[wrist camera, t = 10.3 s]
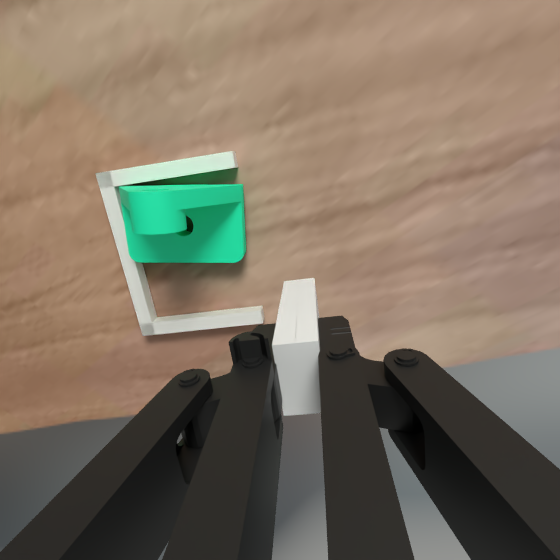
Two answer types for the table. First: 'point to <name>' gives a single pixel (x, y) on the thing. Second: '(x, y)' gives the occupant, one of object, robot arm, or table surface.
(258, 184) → the table surface
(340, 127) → the table surface
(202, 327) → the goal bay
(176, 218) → the camera mount
